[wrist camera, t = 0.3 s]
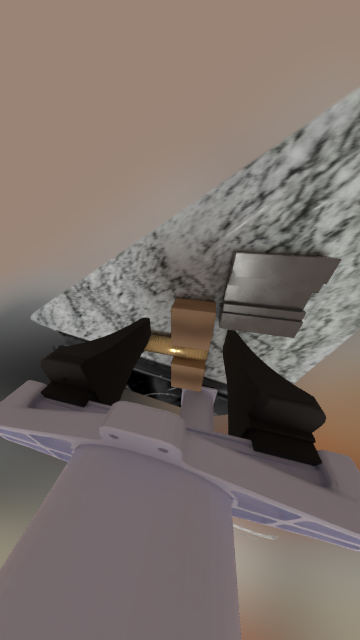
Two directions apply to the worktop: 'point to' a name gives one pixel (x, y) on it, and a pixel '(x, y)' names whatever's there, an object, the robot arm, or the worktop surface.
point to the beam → (190, 340)
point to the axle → (173, 348)
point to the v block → (272, 291)
